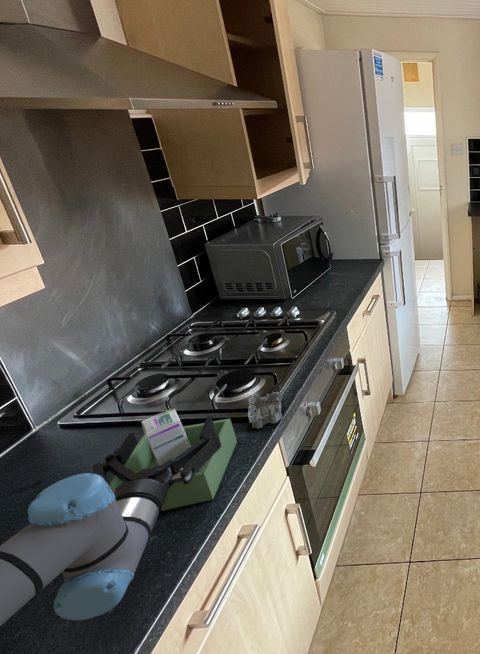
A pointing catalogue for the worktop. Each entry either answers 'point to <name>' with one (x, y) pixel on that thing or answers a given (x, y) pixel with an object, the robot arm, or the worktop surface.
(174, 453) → the syrup box
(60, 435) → the worktop surface
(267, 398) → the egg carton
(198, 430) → the storage tray
